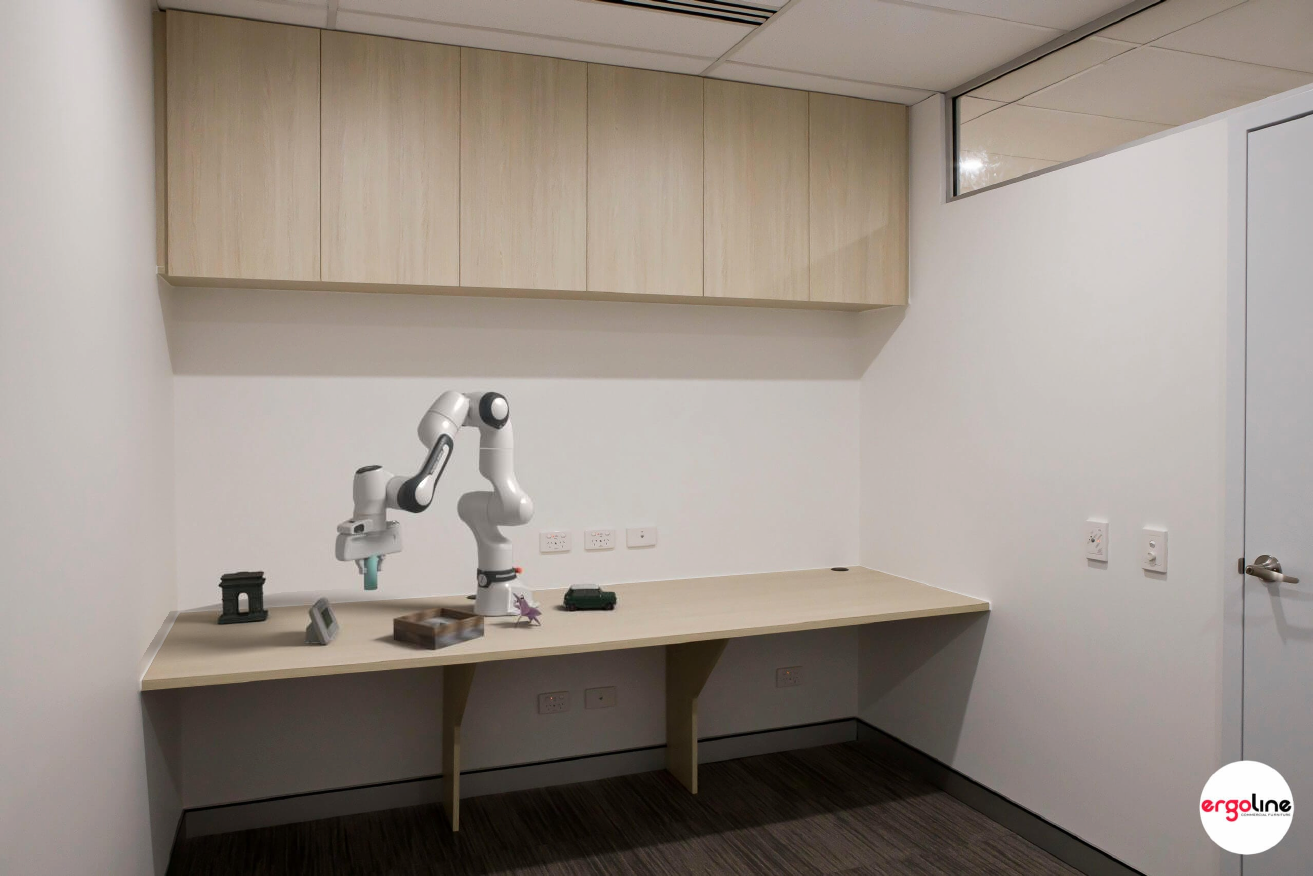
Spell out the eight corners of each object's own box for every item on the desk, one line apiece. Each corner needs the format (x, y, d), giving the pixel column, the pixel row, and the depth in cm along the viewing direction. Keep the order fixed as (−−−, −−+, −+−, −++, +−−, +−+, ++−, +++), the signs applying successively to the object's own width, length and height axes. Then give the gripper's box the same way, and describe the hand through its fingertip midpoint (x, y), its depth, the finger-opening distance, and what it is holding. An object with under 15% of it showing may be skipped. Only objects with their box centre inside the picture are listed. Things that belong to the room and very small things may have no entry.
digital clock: (327, 646, 240) (326, 608, 240) (295, 646, 241) (294, 608, 240) (349, 631, 256) (349, 595, 256) (319, 631, 257) (319, 595, 256)
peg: (372, 587, 247) (371, 552, 246) (380, 588, 245) (379, 553, 244) (361, 589, 244) (360, 553, 243) (369, 590, 242) (368, 555, 241)
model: (268, 614, 276) (267, 568, 276) (267, 621, 268) (266, 573, 267) (220, 618, 271) (219, 571, 271) (217, 625, 263) (216, 576, 262)
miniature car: (618, 611, 284) (618, 586, 283) (562, 612, 282) (562, 587, 281) (616, 604, 293) (616, 581, 292) (562, 606, 291) (562, 582, 290)
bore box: (442, 626, 262) (442, 606, 262) (484, 635, 252) (484, 615, 252) (393, 639, 248) (393, 618, 247) (435, 649, 237) (435, 628, 237)
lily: (541, 634, 258) (552, 604, 261) (504, 621, 255) (515, 590, 259) (533, 637, 268) (543, 607, 272) (497, 624, 266) (508, 594, 270)
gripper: (393, 518, 254) (394, 565, 254) (331, 527, 237) (332, 577, 238) (407, 520, 250) (407, 568, 251) (345, 529, 233) (346, 580, 234)
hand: (370, 572), depth 244 cm, fingers closed on peg, 4 cm apart
